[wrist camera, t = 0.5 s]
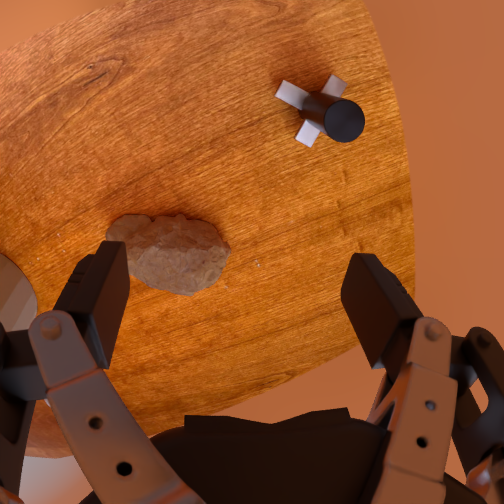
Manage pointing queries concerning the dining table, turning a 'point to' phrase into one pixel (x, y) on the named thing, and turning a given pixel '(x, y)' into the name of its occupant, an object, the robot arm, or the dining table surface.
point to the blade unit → (324, 111)
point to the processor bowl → (15, 297)
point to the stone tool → (171, 251)
